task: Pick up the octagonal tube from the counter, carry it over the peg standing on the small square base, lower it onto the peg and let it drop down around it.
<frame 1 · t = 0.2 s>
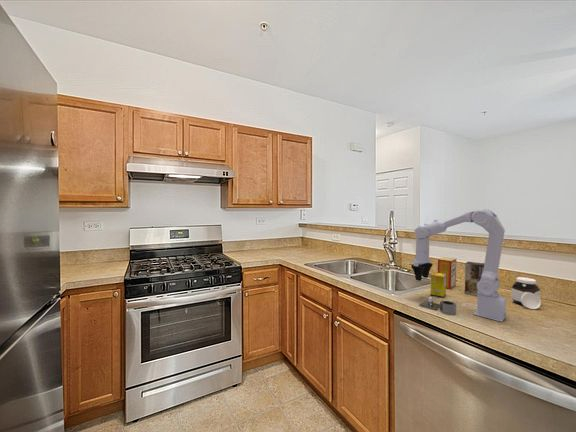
hand: (421, 278, 130), 10 cm above the countertop, tool pointing down, fingers open, 7 cm apart
octagonal tube: (447, 312, 114), on the countertop
baking soda box: (446, 286, 151), on the countertop
coffee box: (475, 294, 138), on the countertop
supplement box: (437, 295, 136), on the countertop
spread jar: (527, 305, 123), on the countertop
square base with peg: (430, 306, 121), on the countertop
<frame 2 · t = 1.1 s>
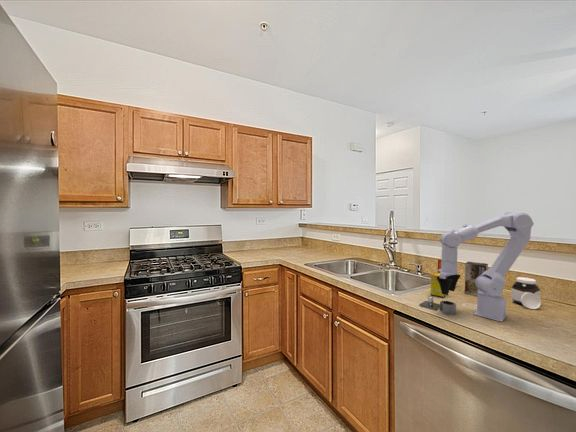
hand: (448, 292, 114), 8 cm above the countertop, tool pointing down, fingers open, 7 cm apart
nothing on the countertop moved.
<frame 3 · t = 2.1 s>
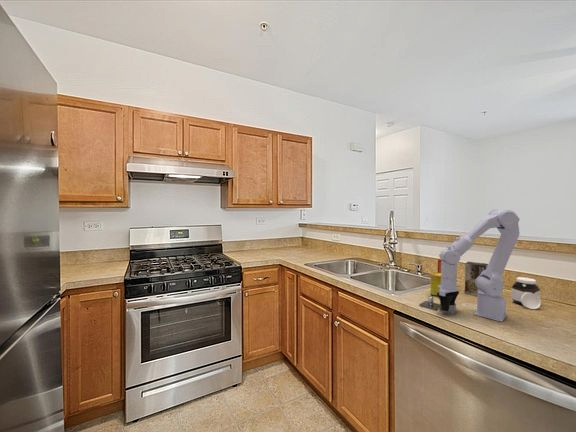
hand: (447, 308, 114), 1 cm above the countertop, tool pointing down, fingers closed on octagonal tube, 5 cm apart
octagonal tube: (447, 312, 114), on the countertop, touching gripper
everything else where it was.
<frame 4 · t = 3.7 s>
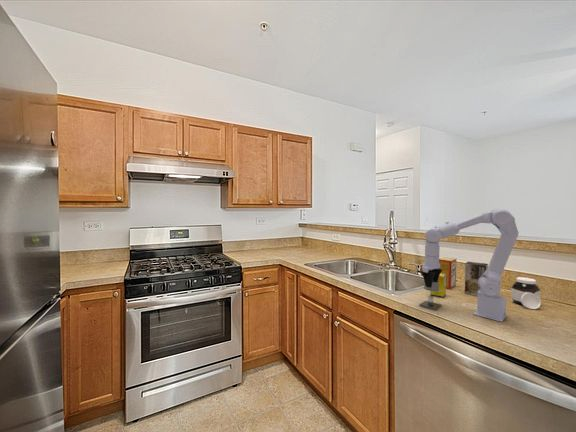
hand: (431, 285, 121), 9 cm above the countertop, tool pointing down, fingers closed on octagonal tube, 5 cm apart
octagonal tube: (431, 289, 121), point 8 cm above the countertop, touching gripper
everything else where it was.
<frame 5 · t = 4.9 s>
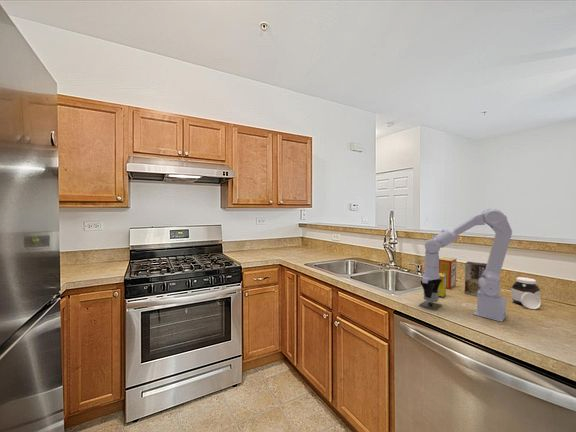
hand: (430, 296, 121), 5 cm above the countertop, tool pointing down, fingers closed on octagonal tube, 5 cm apart
octagonal tube: (430, 299, 121), point 3 cm above the countertop, touching gripper
everything else where it was.
when the fingers open (5 cm above the countertop, at t = 5.5 s): octagonal tube drops 2 cm, resting on square base with peg.
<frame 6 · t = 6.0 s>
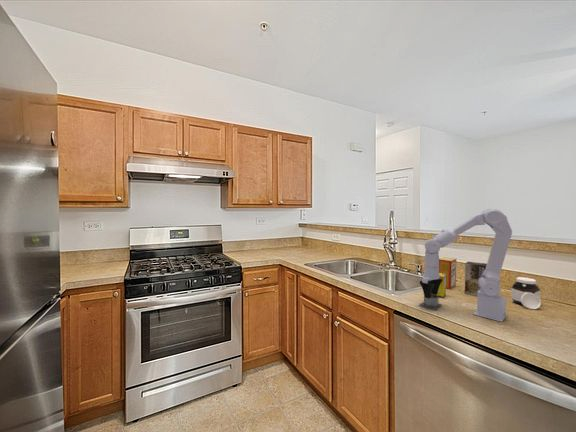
hand: (430, 296, 121), 5 cm above the countertop, tool pointing down, fingers open, 7 cm apart
octagonal tube: (430, 304, 121), point 1 cm above the countertop, touching square base with peg
everything else where it was.
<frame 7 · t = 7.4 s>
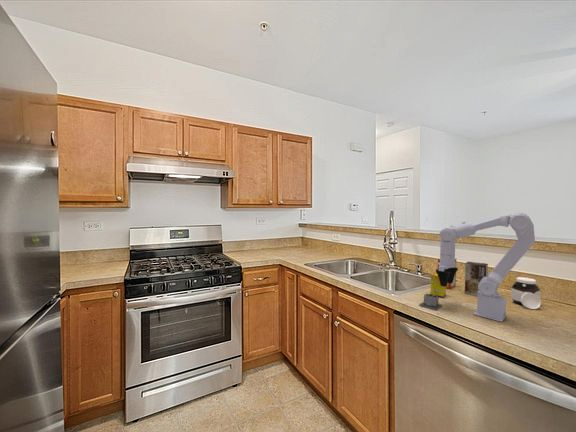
hand: (446, 284, 121), 10 cm above the countertop, tool pointing down, fingers open, 7 cm apart
nothing on the countertop moved.
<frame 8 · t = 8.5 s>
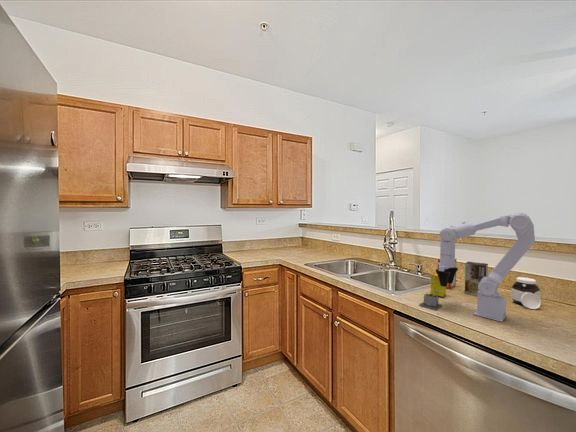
hand: (446, 284, 121), 10 cm above the countertop, tool pointing down, fingers open, 7 cm apart
nothing on the countertop moved.
at the end: octagonal tube 0.1 cm off-centre on the square base with peg, point 0.8 cm above the square base with peg's base; octagonal tube tilted 0°; the gripper is holding nothing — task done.
